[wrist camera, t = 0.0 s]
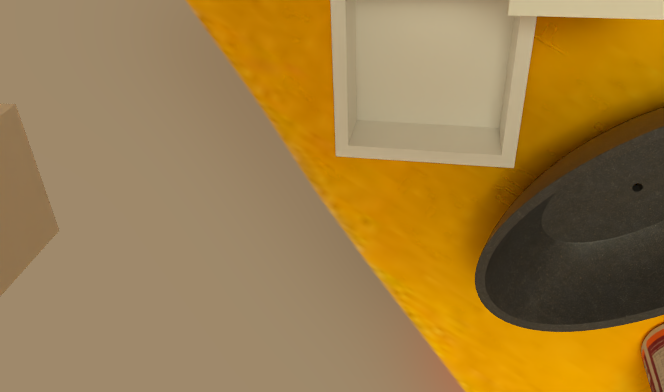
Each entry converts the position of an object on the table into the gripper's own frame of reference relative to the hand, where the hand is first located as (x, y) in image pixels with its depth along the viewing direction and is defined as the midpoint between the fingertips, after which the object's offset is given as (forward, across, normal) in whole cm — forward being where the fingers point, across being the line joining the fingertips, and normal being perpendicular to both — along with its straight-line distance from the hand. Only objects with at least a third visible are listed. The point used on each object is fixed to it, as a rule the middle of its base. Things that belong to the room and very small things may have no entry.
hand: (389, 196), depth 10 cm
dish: (+28, 0, -8) cm, 29 cm away
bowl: (+28, +13, -16) cm, 35 cm away
